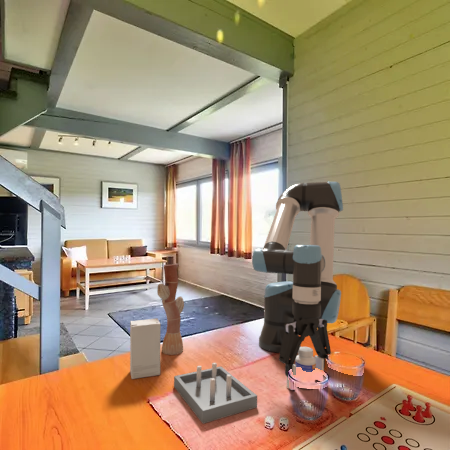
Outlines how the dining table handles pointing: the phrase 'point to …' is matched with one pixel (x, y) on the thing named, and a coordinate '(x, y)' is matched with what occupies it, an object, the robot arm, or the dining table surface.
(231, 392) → the tray
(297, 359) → the pill bottle
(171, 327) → the wooden tree sculpture
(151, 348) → the skincare box
